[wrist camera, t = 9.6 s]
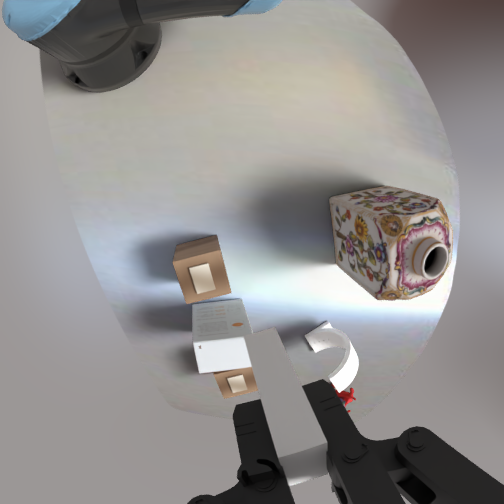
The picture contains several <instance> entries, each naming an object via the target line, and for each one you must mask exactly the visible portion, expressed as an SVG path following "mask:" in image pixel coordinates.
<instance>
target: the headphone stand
mask: <svg viewBox="0 0 504 504" xmlns="http://www.w3.org/2000/svg"><path fill="white" fill-rule="evenodd" d="M305 337H306V339H307V341H308V342H309V344H310V345H311V347H312V348H313V350H314V351H315V353H316V352H318V351H320V350H322V349H325V348H329V347H340V348H344V349H346V351H345V356H344V358H343V360H342V362H341V363H340V365H339V366H338V367H337V368H336V369H335V370H334V371H333V372H332V373H331V374H329V375H328V377H329V379H330V380H331V382H332V383H333V385H334V386H335V388H336V389H337V391H338V392H339V393H340V392H341V391H343V390H344V389H345V388H346V387H347V386H348V385H349V384H350V383H351V382H352V380H353V379H354V377H355V375H356V373H357V370H358V357H357V354H356V352H355V350H354V348H353V346H352V344H351V342H350V340H349V338H348V337H347V335H346V334H345V333H344V332H342V331H340V330H338V329H334V328H332V327H331V325H330V323H329V322H328V321H326V322H325V323H323V324H322V325H320V326H319V327H317V328H316V329H314V330H313V331H311V332H309V333H308V334H306V335H305Z"/></svg>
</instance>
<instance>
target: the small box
mask: <svg viewBox="0 0 504 504" xmlns="http://www.w3.org/2000/svg"><path fill="white" fill-rule="evenodd" d="M252 333H253V331H252V328H251V325H250V322H249V319H248V316H247V313H246V310H245V307H244V304H243V301H242V299H235V300H227V301H218V302H209V303H199V304H193V305H192V340H193V346H194V351H195V356H196V361H197V366H198V370H199V373H208V372H217V371H225V370H233V369H240V368H247V367H252V366H251V362H250V358H249V355H248V351H247V347H246V344H245V340H244V336H245V335H248V334H252Z"/></svg>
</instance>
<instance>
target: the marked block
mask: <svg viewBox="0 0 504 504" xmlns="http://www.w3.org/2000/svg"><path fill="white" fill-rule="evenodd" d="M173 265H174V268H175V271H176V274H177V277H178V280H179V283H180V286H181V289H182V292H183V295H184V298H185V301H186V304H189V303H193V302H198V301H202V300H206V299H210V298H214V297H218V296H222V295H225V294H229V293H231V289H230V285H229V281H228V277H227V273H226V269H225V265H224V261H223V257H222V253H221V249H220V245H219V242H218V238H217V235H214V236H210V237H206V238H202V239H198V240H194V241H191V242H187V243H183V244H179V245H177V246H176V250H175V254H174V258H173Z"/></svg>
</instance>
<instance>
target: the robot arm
mask: <svg viewBox="0 0 504 504" xmlns="http://www.w3.org/2000/svg"><path fill="white" fill-rule="evenodd" d="M281 2H282V0H4V2H3V8H2V15H3V19H4V22H5V24H6V25H7V27H8V28H9V29H11V30H12V31H14V32H15V33H16V34H17V35H18V37H19V38H21V39H22V40H24V41H27V42H29V43H30V44H32V45H34V46H36V47H38V48H40V49H41V50H43V51H45V52H47V53H49V54H50V55H52V56H54V57H56V58H57V59H59V61H60V64H61V67H62V70H63V72H64V74H65V76H66V77H67V78H68V79H69V80H70V81H71V82H72V83H73V84H75V85H76V86H78V87H80V88H82V89H84V90H87V91H92V92H106V91H111V90H114V89H118V88H120V87H122V86H125V85H126V84H128V83H130V82H132V81H133V80H135V79H136V78H137V77H139V76H140V75H141V74H142V73H143V72H144V71H145V70H146V69H147V68H148V67H149V66H150V64H151V63H152V62H153V60H154V59H155V57H156V55H157V53H158V51H159V48H160V44H161V38H162V32H161V27H160V24H159V23H160V22H166V21H172V20H179V19H187V18H196V17H207V16H221V15H222V16H223V17H232V16H236V15H242V14H261V13H265V12H267V11H269V10H271V9H273V8H275V7H276V6H277V5H279V4H280V3H281ZM244 340H245V344H246V347H247V351H248V355H249V358H250V362H251V366H252V369H253V373H254V377H255V380H256V384H257V388H258V391H259V395H260V398H261V399H258V400H254V401H251V402H246V403H242V404H238V405H236V407H235V410H234V413H233V420H234V426H235V431H236V436H237V442H238V448H239V453H240V458H241V463H242V464H241V466H240V467H239V469H238V473H237V479H238V480H239V482H238V483H237V484H236V485H235V486H234V487H232V488H231V489H229V490H227V491H225V492H223V493H220V494H218V495H216V496H212V495H199V496H197V497H195V498H193V499H191V500H190V501H189V502H188V503H187V504H295V502H294V499H293V496H292V493H291V490H290V487H289V486H291V485H295V484H298V483H302V482H305V481H308V480H311V479H314V478H317V477H320V476H323V475H326V474H328V472H329V475H330V477H331V479H332V487H331V488H332V492H335V493H336V496H337V498H338V501H339V503H340V504H405V502H404V500H403V498H402V497H401V495H400V494H402V495H403V496H404V497H405V498H406V499H407V500H408V501H409V502H410V503H411V504H504V485H503V484H501V483H500V482H498V481H497V480H496V479H494V478H493V477H491V476H490V475H489V474H487V473H486V472H485V471H483V470H482V469H480V468H479V467H478V466H476V465H475V464H474V463H472V462H471V461H470V460H468V459H467V458H466V457H464V456H463V455H462V454H460V453H459V452H458V451H456V450H455V449H454V448H452V447H451V446H450V445H448V444H447V443H445V442H444V441H443V440H442V439H441V438H439V437H438V436H437V435H435V434H434V433H433V432H431V431H430V430H428V429H426V428H424V427H412V428H409V429H407V430H406V431H404V432H403V433H402V434H401V435H400V437H398V438H393V439H387V440H379V441H375V440H370V439H367V438H365V437H363V436H362V435H361V434H360V433H359V431H358V430H357V428H356V426H355V425H354V423H353V421H352V419H351V418H350V416H349V414H348V412H347V411H346V409H345V407H344V405H343V404H342V402H341V400H340V398H339V397H338V395H337V393H336V391H335V389H334V388H333V386H332V385H330V384H329V383H328V382H326V381H325V380H323V379H322V380H319V381H316V382H313V383H310V384H307V385H304V386H301V383H300V381H299V379H298V377H297V375H296V372H295V370H294V368H293V366H292V364H291V361H290V359H289V357H288V355H287V352H286V350H285V348H284V346H283V344H282V341H281V339H280V337H279V335H278V332H277V330H276V328H275V327H274V328H270V329H267V330H263V331H259V332H256V333H252V334H248V335H245V336H244Z"/></svg>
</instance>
